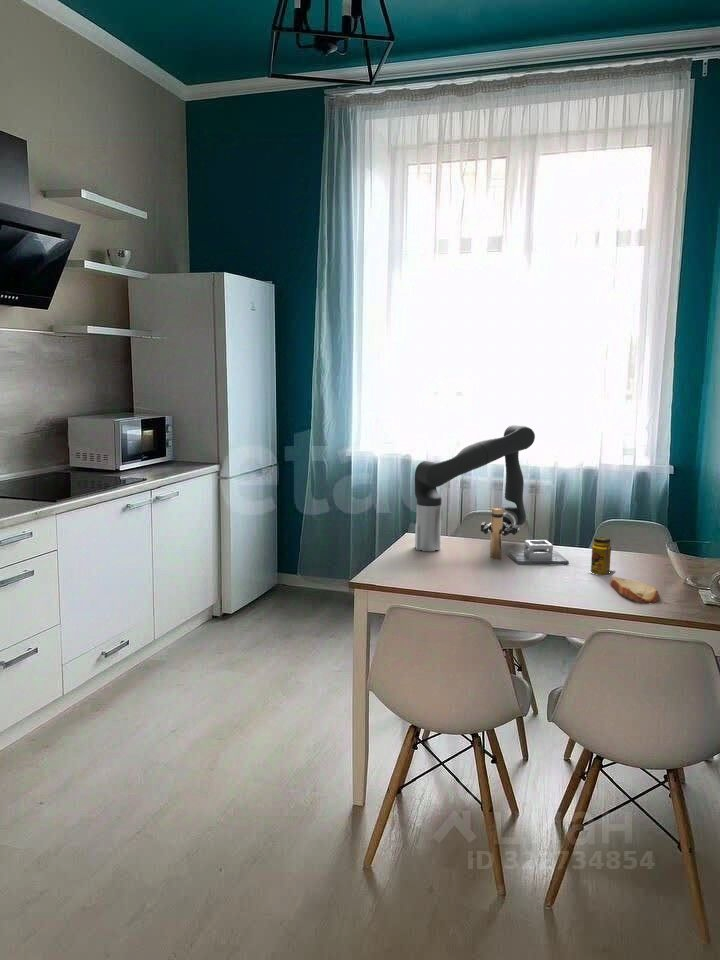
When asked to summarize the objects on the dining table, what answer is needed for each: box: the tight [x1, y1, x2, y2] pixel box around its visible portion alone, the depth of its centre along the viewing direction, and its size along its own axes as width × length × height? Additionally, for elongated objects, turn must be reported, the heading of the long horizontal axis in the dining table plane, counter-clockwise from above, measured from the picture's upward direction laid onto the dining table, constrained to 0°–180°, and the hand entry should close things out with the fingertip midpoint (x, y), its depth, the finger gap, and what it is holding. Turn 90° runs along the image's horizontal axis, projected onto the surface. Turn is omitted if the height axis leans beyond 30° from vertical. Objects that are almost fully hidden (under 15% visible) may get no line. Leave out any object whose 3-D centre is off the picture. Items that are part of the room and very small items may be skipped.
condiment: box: [589, 536, 616, 577], centre depth 249 cm, size 7×8×12 cm
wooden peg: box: [489, 507, 504, 560], centre depth 266 cm, size 4×4×18 cm
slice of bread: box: [609, 577, 661, 605], centre depth 226 cm, size 18×18×4 cm
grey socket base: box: [508, 539, 570, 565], centre depth 265 cm, size 18×14×6 cm
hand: (495, 532), depth 263 cm, fingers open, 6 cm apart
